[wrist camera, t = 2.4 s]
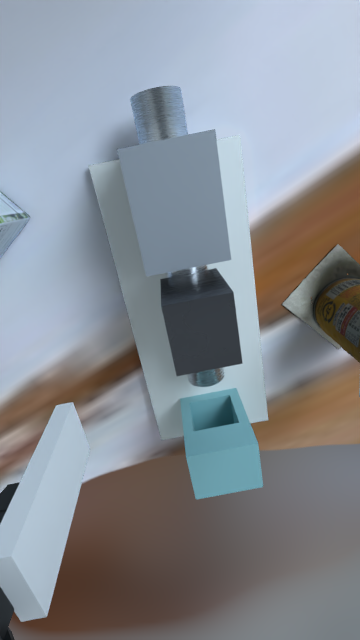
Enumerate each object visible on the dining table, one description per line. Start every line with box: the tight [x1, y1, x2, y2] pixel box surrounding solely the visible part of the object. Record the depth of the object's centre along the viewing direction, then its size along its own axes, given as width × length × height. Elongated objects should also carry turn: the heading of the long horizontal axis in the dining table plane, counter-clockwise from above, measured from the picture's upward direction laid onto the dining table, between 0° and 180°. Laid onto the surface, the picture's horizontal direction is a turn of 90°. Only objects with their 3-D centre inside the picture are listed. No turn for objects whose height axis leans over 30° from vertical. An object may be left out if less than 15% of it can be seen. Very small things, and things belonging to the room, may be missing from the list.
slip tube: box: [130, 86, 243, 387], centre depth 23 cm, size 22×4×9 cm, turn 11°
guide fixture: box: [88, 129, 268, 499], centre depth 27 cm, size 28×12×9 cm, turn 11°
